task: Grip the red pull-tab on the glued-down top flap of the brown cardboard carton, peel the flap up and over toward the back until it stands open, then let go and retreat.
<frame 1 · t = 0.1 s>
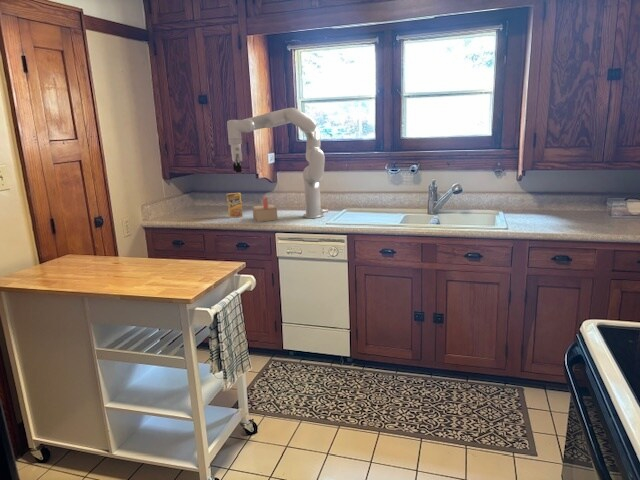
hand: (237, 171, 285), 31 cm above the table, fingers open, 9 cm apart
glued flap: (264, 202, 299), point 11 cm above the table, hinge at 0.0°
candy box: (235, 217, 313), on the table
carton: (265, 219, 302), on the table
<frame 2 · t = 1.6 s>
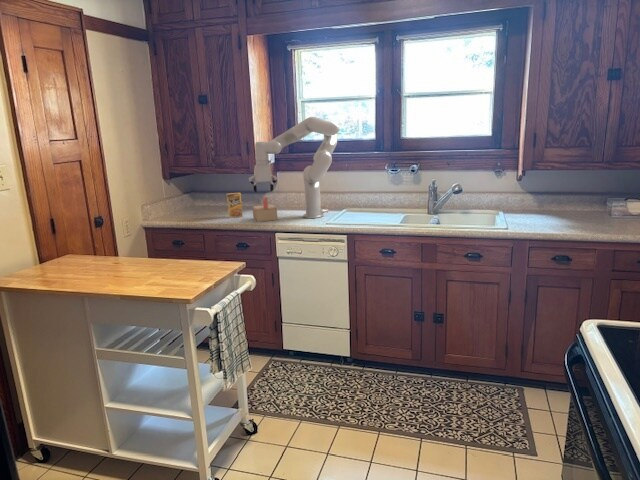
hand: (263, 191, 293), 18 cm above the table, fingers open, 9 cm apart
nothing on the table moved.
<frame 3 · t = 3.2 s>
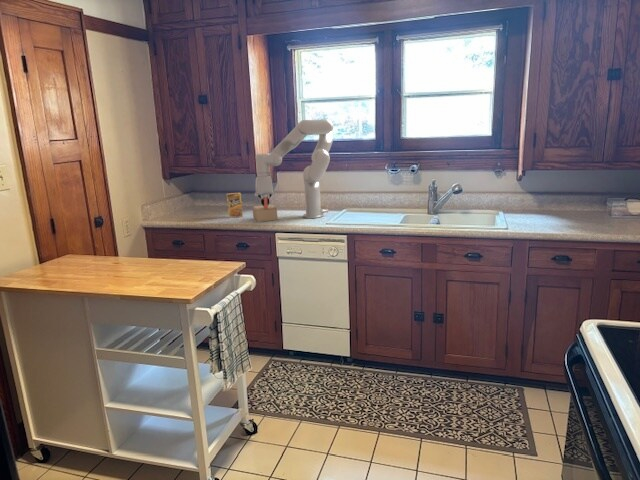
hand: (265, 205, 295), 10 cm above the table, fingers closed on glued flap, 2 cm apart
glued flap: (264, 202, 299), point 11 cm above the table, hinge at 0.0°, touching gripper
everything else where it was.
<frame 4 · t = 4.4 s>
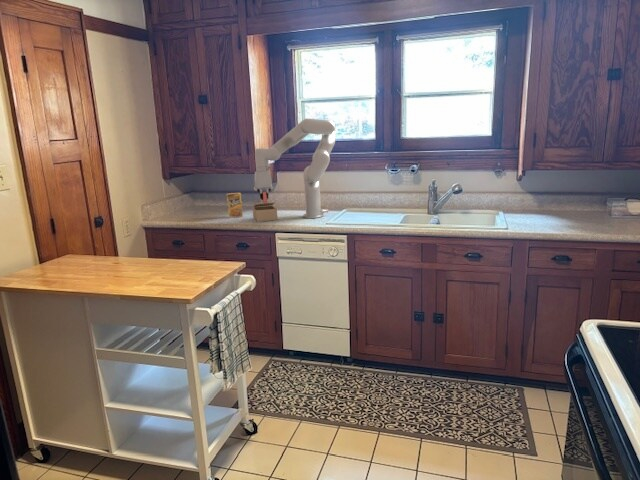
hand: (264, 199, 297), 13 cm above the table, fingers closed on glued flap, 2 cm apart
glued flap: (263, 199, 300), point 12 cm above the table, hinge at 17.8°, touching gripper
everything else where it was.
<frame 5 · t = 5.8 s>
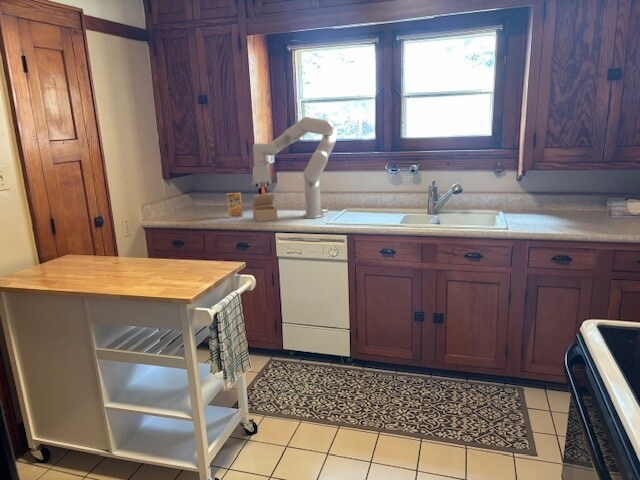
hand: (262, 193, 301), 15 cm above the table, fingers closed on glued flap, 2 cm apart
glued flap: (262, 195, 302), point 14 cm above the table, hinge at 45.1°, touching gripper
everything else where it was.
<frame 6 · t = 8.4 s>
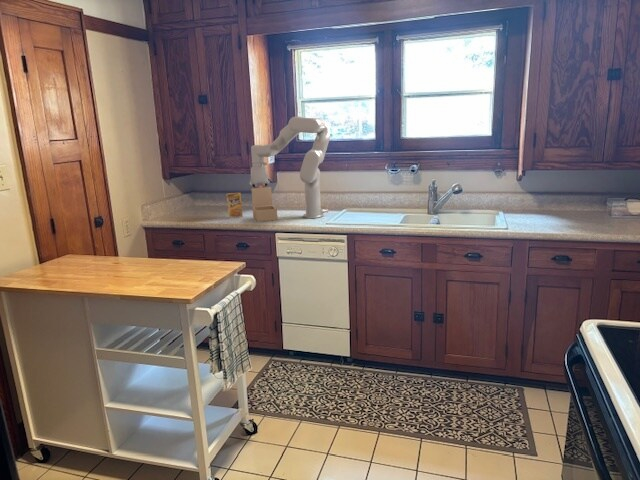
hand: (260, 193, 310), 14 cm above the table, fingers open, 3 cm apart
glued flap: (261, 195, 308), point 13 cm above the table, hinge at 90.8°
everything else where it was.
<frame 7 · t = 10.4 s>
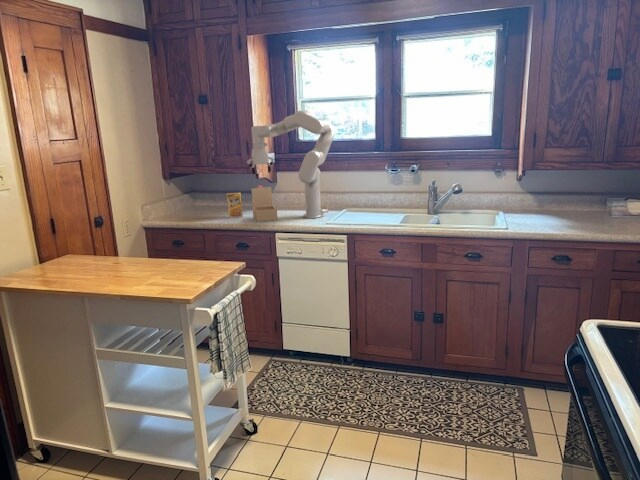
hand: (261, 173, 310), 27 cm above the table, fingers open, 9 cm apart
nothing on the table moved.
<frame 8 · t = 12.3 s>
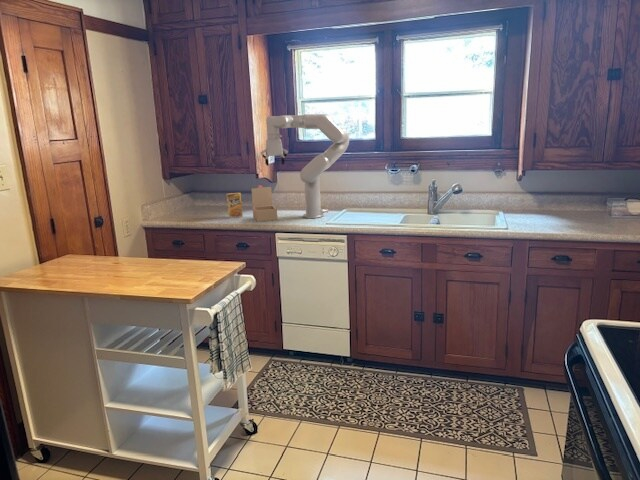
hand: (275, 165, 302), 32 cm above the table, fingers open, 9 cm apart
nothing on the table moved.
at the end: glued flap at +91° (first picture: +0°); the gripper is holding nothing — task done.
